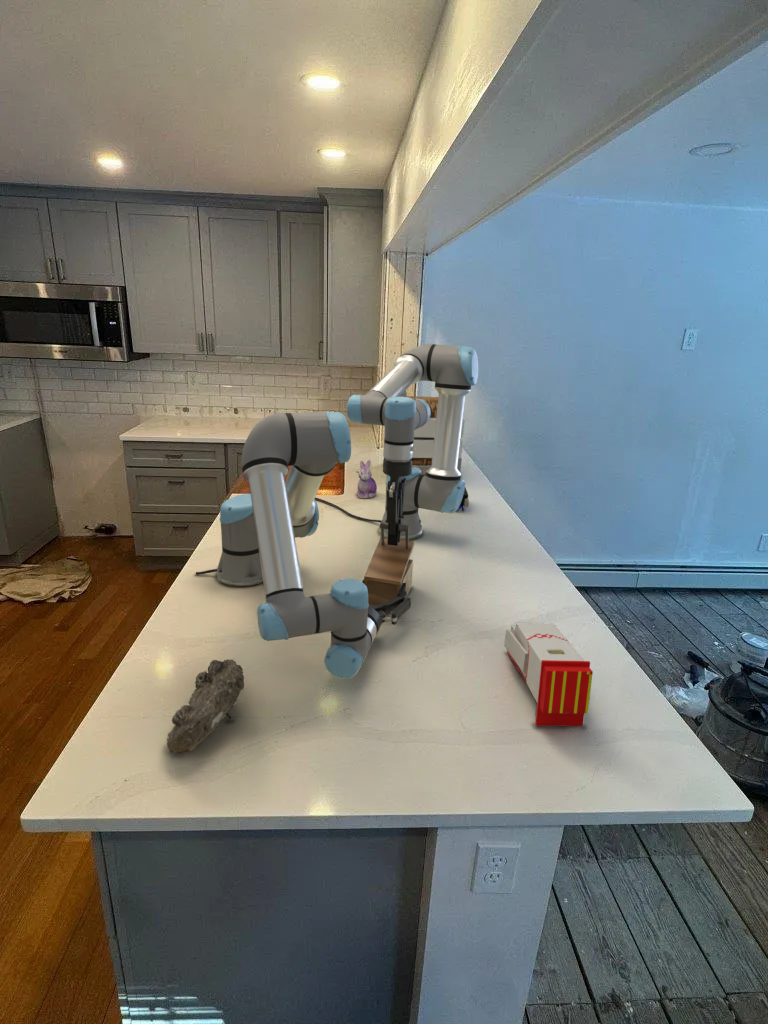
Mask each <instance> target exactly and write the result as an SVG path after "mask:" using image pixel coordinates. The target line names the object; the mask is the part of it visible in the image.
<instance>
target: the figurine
mask: <svg viewBox="0 0 768 1024" xmlns="http://www.w3.org/2000/svg"><path fill="white" fill-rule="evenodd" d="M371 463H372V461H371V460H370V459H368V460H367V461H366V463H364V461H363V460H360V461H359V467H360V468H359V471H358V475H357V476H358V478H359V480H358V482H357V494H356V495H357V497H358V498H361V499H370V498H374V497H375V496H376V495H377V490H378V487H377V482H376V480H375V479H374V478H373V477H372V476H373V475H372V471H371V469H370V467H371Z"/></svg>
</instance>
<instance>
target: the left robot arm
mask: <svg viewBox="0 0 768 1024" xmlns="http://www.w3.org/2000/svg"><path fill="white" fill-rule="evenodd" d="M348 423H349V422H348V420H347V418H346V416H345V415H344V413H342V412H340V411H329V410H326V411H307V412H306V411H305V412H304V411H303V412H276V413H272V414H269V415H267V416H265V417H264V418H262V419H260V420H259V421H258V422H257V423H256V424H255V425H254V427H253V428H252V429H251V430H250V432H249V434H248V435H247V438H246V440H245V442H244V445H243V448H242V453H241V465H240V466H241V471H242V477H243V480H245V481H246V482H248V486H249V493H245V494H237V495H235V496H233V497H232V496H231V497H230V498H228V499H226V500H224V502H222V504H221V505H220V508H219V522H220V535H221V554H220V559H219V562H218V565H217V567H216V568H213V569H207V570H202V571H196V572H195V575H196V576H199V575H201V576H202V575H205V574H206V575H207V574H210V573H216V578H217V580H218V581H219V582H220V583H221V584H223V585H225V586H230V587H236V588H237V587H239V588H241V587H242V588H243V587H253V586H256V585H259V584H262V583H263V587H264V594H265V602H262V603H260V604H258V605H257V610H256V611H257V612H256V613H257V615H256V616H257V625H258V631H259V634H260V637H261V639H262V640H264V641H265V642H272V641H281V640H286V641H288V640H289V639H293V638H299V637H305V636H310V635H316V634H324V633H329V632H330V646H329V647H328V648H327V650H326V653H325V656H324V665H325V668H326V669H327V671H328V672H329V673H330V674H331V675H332V676H334V677H335V678H339V679H343V680H344V679H350V678H353V677H354V676H356V675H357V673H358V672H359V670H360V669H361V668H362V667H363V665H364V661H365V659H366V658H367V655H368V653H369V651H370V648H371V646H372V645H373V642H374V640H375V638H376V636H377V635H378V633H379V631H380V628H381V627H382V624H384V623H385V622H391V625H393V626H395V625H397V623H398V620H399V619H400V618H402V617H403V616H404V615H405V614H406V613H407V612H408V611H409V610H410V609H411V607H412V598H411V597H408V596H407V592H406V583H403V584H402V586H401V589H400V590H399V592H398V597H397V598H395V599H393V600H391V601H389V602H387V603H385V604H384V603H381V604H379V605H370V604H369V603H368V589H367V587H366V585H365V584H364V578H363V580H359V579H355V578H341V579H338V580H337V581H335V582H333V584H332V585H331V589H330V593H323V594H317V595H310V596H305V592H304V584H303V578H302V573H301V567H300V562H299V561H300V560H299V555H298V550H297V549H298V548H297V543H296V538H299V539H301V538H305V537H310V536H312V535H314V534H315V533H316V531H317V530H318V527H319V520H320V511H319V506H318V502H317V500H315V498H317V497H316V496H317V494H318V492H319V489H320V487H321V484H322V482H323V479H324V478H325V476H327V475H329V474H330V473H331V472H332V471H334V469H335V467H336V465H337V464H344V463H347V462H349V461H350V459H351V456H352V438H351V432H350V431H351V430H350V427H349V424H348ZM389 613H390V614H389Z"/></svg>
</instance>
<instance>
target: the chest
mask: <svg viewBox="0 0 768 1024" xmlns="http://www.w3.org/2000/svg"><path fill="white" fill-rule="evenodd" d="M413 569H414V559H411V558H410V559H409V562H408V565H407V568H406V571H405V574H404V577H403V580H402V583H401V585H396V584H390V583H383V582H376V581H370V580H364V584H365V585H366V587H367V589H368V603H369V604H370V605H379V604H381V603H384V604H385V603H387V602H389V601H391V600H393V599H395V598H397V597H398V592H399V590H400V589H401V586H402V584H403V583H406V592H407V597H408V596H409V593H410V591H411V589H412V583H413ZM389 614H390V613H389ZM389 614H388V615H389Z"/></svg>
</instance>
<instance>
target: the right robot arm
mask: <svg viewBox="0 0 768 1024" xmlns="http://www.w3.org/2000/svg"><path fill="white" fill-rule="evenodd" d="M478 378H479V358H478V353H477V351H476V350H475V348H473V347H471V346H464V345H455V344H454V345H451V344H436V343H435V344H434V343H426V344H421V345H420V344H419V345H418V346H415V347H413V348H411V349H408V350H407V351H405V352H404V353H402V354H401V355H400V356H399V357H398V358H396V359H395V362H394V364H393V367H392V368H391V369H390V370H389V371H388V372H387V373H386V374H385V375H384V376H382V378H381V379H380V380H378V382H377V383H376V384H374V386H372V388H371V389H370V390H369V391H367V392H366V393H365V395H364V394H353V395H351V396H349V399H348V400H347V404H346V415H347V418H348V420H349V421H350V422H353V423H358V424H361V425H363V424H365V425H374V426H383V427H384V433H383V435H384V439H383V452H382V453H383V456H382V457H383V460H382V473H383V474H384V475H385V476H386V482H385V504H384V505H385V507H384V508H385V509H384V513H383V515H382V519H373V518H371V519H370V518H366V517H361V516H358V515H355V514H353V513H350V512H348V510H345V509H344V508H342V507H340V506H338V505H336V504H334V503H332V502H330V501H327V500H325V499H322V498H319V497H315V500H316V501H318V502H322V503H324V504H327V505H329V506H332V507H334V508H336V509H338V510H339V511H341V512H343V513H345V514H346V515H348V516H349V517H352V518H354V519H358V520H361V521H365V522H370V523H379V524H380V523H381V522H386V523H388V529H384V537H385V538H388V544H387V545H394V546H398V542H400V540H406V532H404V531H399V524H401V525H409V526H410V528H409V538H408V541H412V540H415V539H418V538H420V537H421V536H422V535H423V525H422V524H421V522H422V521H421V518H420V515H419V509H422V510H428V511H433V512H439V513H442V514H443V513H446V514H453V513H456V512H457V511H458V509H460V508H459V506H460V503H461V501H462V498H463V494H464V490H465V487H466V481H465V480H463V479H462V473H460V472H459V471H458V469H457V464H458V456H459V447H460V439H462V438H461V429H462V420H463V419H464V412H465V411H464V410H465V403H466V396H467V395H468V394H469V393H471V391H472V387H473V386H475V385H477V383H478ZM422 381H423V382H434V389H435V391H436V392H437V393H438V396H437V397H438V406H437V416H436V426H435V436H434V446H433V456H432V465H430V466H429V468H427V469H426V471H425V474H424V473H423V474H422V469H421V468H419V467H417V466H412V460H411V458H412V456H413V451H415V448H414V447H413V442H414V430H416V429H418V428H420V427H422V426H424V424H426V423H427V422H428V420H429V418H430V415H431V411H430V407H429V405H428V404H427V403H426V402H425V401H424V400H421V399H412V398H408V397H400V396H401V395H402V394H403V393H404V392H405V391H406V392H407V390H408V388H410V387H411V386H412V385H414V384H417V383H419V382H422ZM384 458H385V459H384ZM456 510H457V511H456ZM378 533H379V534H380V535H381V528H380V525H379V526H378Z"/></svg>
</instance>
